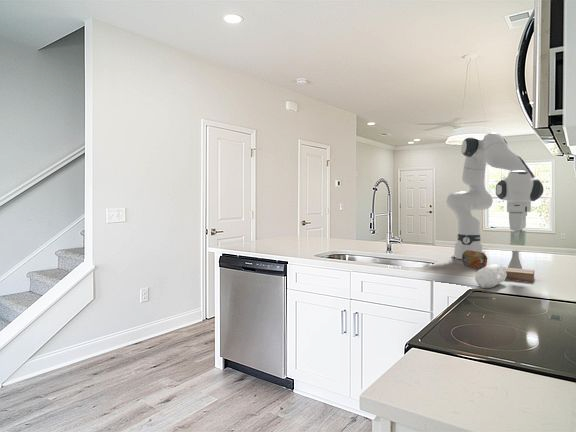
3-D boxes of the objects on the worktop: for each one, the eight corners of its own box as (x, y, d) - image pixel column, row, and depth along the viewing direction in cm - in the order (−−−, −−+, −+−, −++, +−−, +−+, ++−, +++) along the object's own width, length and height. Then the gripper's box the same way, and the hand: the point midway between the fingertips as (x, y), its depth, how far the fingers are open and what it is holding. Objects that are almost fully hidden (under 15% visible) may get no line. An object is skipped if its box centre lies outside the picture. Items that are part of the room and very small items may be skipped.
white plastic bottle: (469, 289, 145) (469, 269, 145) (485, 281, 159) (485, 262, 158) (491, 292, 140) (492, 271, 139) (506, 284, 153) (506, 264, 153)
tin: (461, 265, 199) (461, 249, 198) (466, 264, 200) (466, 248, 199) (482, 270, 184) (483, 253, 184) (488, 269, 185) (488, 252, 185)
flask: (526, 273, 176) (527, 252, 175) (509, 272, 177) (510, 251, 177) (520, 270, 183) (520, 249, 182) (503, 269, 184) (504, 249, 184)
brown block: (502, 276, 172) (502, 267, 171) (534, 279, 165) (534, 270, 164) (499, 279, 164) (500, 270, 163) (532, 283, 156) (532, 273, 156)
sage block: (512, 243, 167) (512, 230, 167) (525, 244, 164) (525, 230, 164) (510, 244, 163) (510, 230, 163) (523, 245, 160) (524, 231, 160)
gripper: (513, 207, 173) (513, 237, 173) (506, 208, 157) (505, 241, 157) (529, 207, 169) (529, 238, 170) (524, 208, 153) (523, 242, 153)
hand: (518, 239), depth 163 cm, fingers closed on sage block, 5 cm apart
